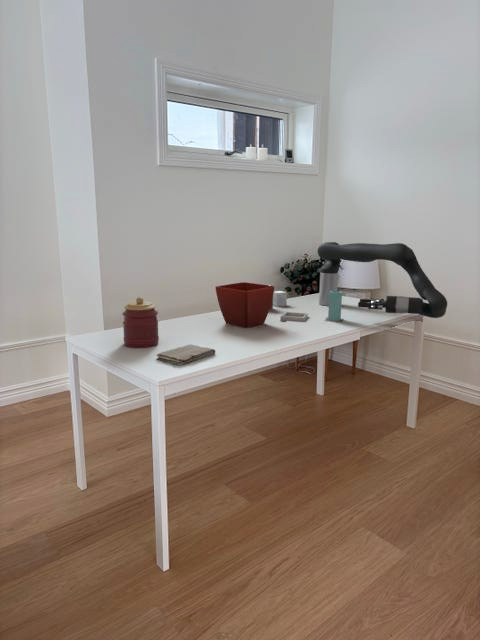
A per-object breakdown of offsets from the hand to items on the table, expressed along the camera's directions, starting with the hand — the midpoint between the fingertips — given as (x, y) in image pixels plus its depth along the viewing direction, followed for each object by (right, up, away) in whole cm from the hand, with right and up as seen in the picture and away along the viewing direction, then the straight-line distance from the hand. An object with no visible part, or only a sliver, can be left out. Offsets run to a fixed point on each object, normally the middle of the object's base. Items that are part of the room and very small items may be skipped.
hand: (359, 302), depth 213 cm
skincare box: (-32, 0, +42) cm, 53 cm away
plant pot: (-51, -10, -1) cm, 52 cm away
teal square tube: (-10, -8, +5) cm, 14 cm away
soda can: (-40, -2, +32) cm, 51 cm away
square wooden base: (-10, -8, +5) cm, 14 cm away
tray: (-28, -7, +8) cm, 30 cm away
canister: (-90, -17, -34) cm, 98 cm away
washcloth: (-72, -21, -50) cm, 90 cm away
